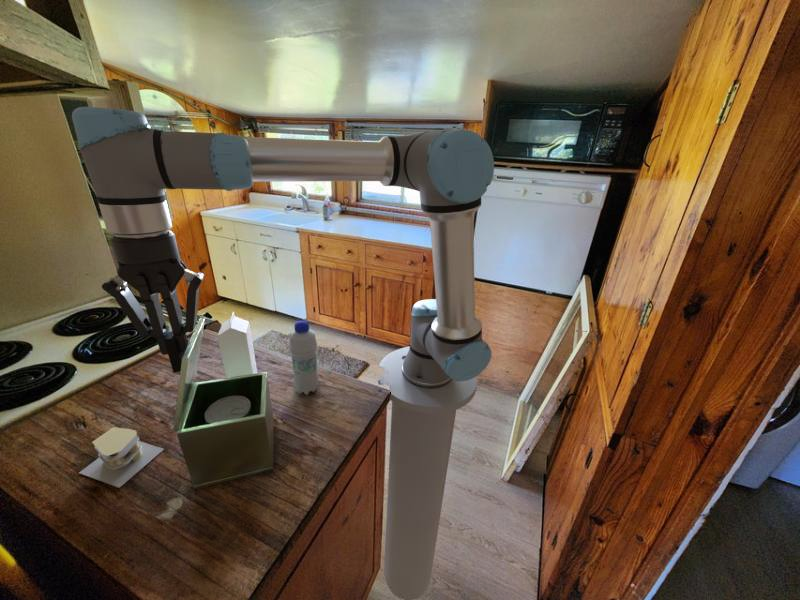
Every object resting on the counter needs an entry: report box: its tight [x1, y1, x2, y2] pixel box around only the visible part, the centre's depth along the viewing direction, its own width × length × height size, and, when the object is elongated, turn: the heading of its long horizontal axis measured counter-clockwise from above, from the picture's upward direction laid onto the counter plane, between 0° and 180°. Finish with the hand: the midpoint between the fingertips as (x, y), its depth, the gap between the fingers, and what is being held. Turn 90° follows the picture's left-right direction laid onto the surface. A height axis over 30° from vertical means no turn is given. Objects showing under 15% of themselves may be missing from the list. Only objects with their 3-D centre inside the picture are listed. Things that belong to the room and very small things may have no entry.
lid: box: [172, 317, 206, 432], centre depth 57 cm, size 14×14×1 cm
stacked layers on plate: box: [78, 426, 165, 488], centre depth 63 cm, size 10×9×6 cm
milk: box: [216, 310, 258, 378], centre depth 79 cm, size 6×6×22 cm
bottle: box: [288, 320, 320, 396], centre depth 82 cm, size 7×7×20 cm
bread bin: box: [176, 371, 275, 490], centre depth 64 cm, size 14×14×14 cm
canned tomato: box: [205, 396, 252, 424], centre depth 64 cm, size 8×8×11 cm
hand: (180, 367), depth 56 cm, fingers closed
